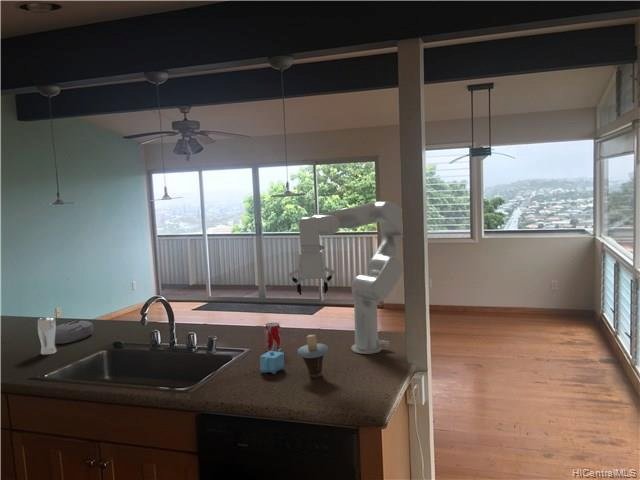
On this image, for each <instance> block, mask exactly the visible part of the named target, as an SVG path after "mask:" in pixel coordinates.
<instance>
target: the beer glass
mask: <svg viewBox="0 0 640 480" xmlns="http://www.w3.org/2000/svg"><path fill="white" fill-rule="evenodd" d="M56 326H57V322H56V317H53V316H46V317H41V318H38V319H37V332H38V333H37V334H38V337H39V341H40V346H41V349H40V355H43V356H48V355H53V354H56V353H57V351H58V349H57V346H56V344H55V338H56Z"/></svg>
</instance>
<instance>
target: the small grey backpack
mask: <svg viewBox="0 0 640 480" xmlns="http://www.w3.org/2000/svg"><path fill="white" fill-rule="evenodd" d="M94 330H95V327H94V324H93V322H91V321H89V320H79V319H78V320H74V319H73V320H69V321H68V322H66V321H65V322H64V323H60V324H59V325H56V338H55V345H56V344H58V345H59V344H69V343H73V342H77V341H81V340H84V339H85V338H88V337H90V336H91V335H93V333H94Z"/></svg>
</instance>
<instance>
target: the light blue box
mask: <svg viewBox="0 0 640 480" xmlns="http://www.w3.org/2000/svg"><path fill="white" fill-rule="evenodd" d="M259 363H260V364H259V365H260V367H259V368H260V372H263V373H264V374H267V373H271V374H272V375H276V374H277V372H280V371H282V369H284V368H285V353H284V352H283V351H282V348H281V349H279V350H278V352H275V351H269V352H265V353H263V354H261V355H260V356H259Z"/></svg>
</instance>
